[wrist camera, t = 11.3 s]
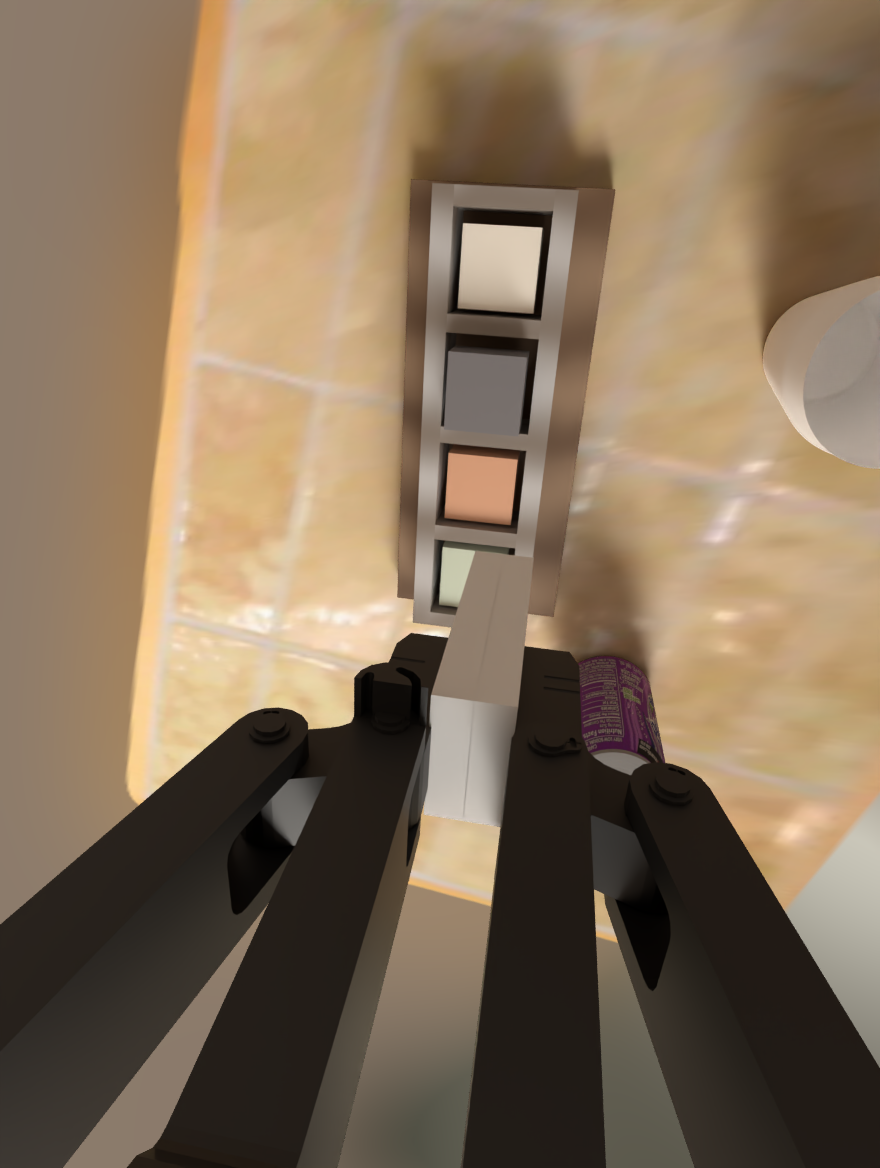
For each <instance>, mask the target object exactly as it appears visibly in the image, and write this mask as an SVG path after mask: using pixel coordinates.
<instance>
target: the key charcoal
mask: <svg viewBox="0 0 880 1168" xmlns="http://www.w3.org/2000/svg"><path fill="white" fill-rule="evenodd" d="M528 360H529V351H520V350H507V349H495V348H482V347H469V346H457V345H456V346H455V347H453V348H452V349H451V350H449V351H448V368H447V385H446V402H445V419H444V430H455V431H465V432H476V433H487V434H497V435H508V436H519V433H520V429H521V425H522V415H523V406H524V397H525V387H526V378H527V369H528Z"/></svg>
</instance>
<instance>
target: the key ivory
mask: <svg viewBox="0 0 880 1168" xmlns="http://www.w3.org/2000/svg"><path fill="white" fill-rule="evenodd" d="M543 234H544V229H543V228H539V227H521V226H504V225H486V224H469V223H463V232H462V248H461V264H460V280H459V296H458V308H462V309H476V310H490V311H504V312H518V313H532V314H533V313H534V312H535V308H536V299H537V290H538V280H539V271H540V262H541V253H542V243H543Z"/></svg>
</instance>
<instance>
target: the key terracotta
mask: <svg viewBox="0 0 880 1168" xmlns="http://www.w3.org/2000/svg"><path fill="white" fill-rule="evenodd" d="M519 456H520V450H512V449H502V448H492V447H481V446H471V445H461V444H454V445H453V447H452V448H451V450H450V452H449V455H448V471H447V487H446V503H445V518H449V519H459V520H468V521H477V522H486V523H495V524H504V525H511V521H512V516H513V511H514V502H515V493H516V483H517V474H518V465H519Z"/></svg>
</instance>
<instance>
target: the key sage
mask: <svg viewBox="0 0 880 1168" xmlns="http://www.w3.org/2000/svg"><path fill="white" fill-rule="evenodd" d="M475 551H480V552H488V553H497V554H506V555H509V548H507V547H499V546H490V545H481V544H472V543H464V542H455V541H445V543H444V545H443V551H442V567H441V583H440V598H439V605H446V606H454V607H458V606H459V602H460V599H461V596H462V593H463V589H464V586H465V583H466V580H467V576H468V573H469V570H470V567H471V563H472V560H473V557H474V554H475Z"/></svg>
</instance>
